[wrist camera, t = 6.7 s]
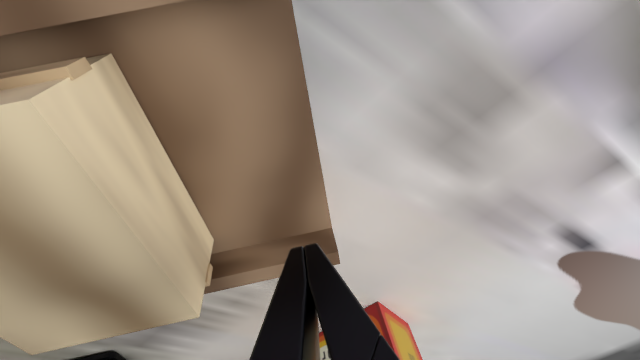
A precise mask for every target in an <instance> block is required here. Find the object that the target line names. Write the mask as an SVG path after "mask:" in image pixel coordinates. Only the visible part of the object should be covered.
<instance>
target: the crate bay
mask: <svg viewBox="0 0 640 360" xmlns="http://www.w3.org/2000/svg"><path fill="white" fill-rule="evenodd" d="M105 54H112V56H113V57H114V59H115V61H116V63H117V65H118V66H119V68H120V70H121V72H122V74H123V76H124V77H125V79H126V81H127V83H128V85H129V86H130V88H131V90H132V92H133V94H134V96H135V97H136V99H137V101H138V103H139V105H140V106H141V108H142V110H143V112H144V114H145V116H146V117H147V119H148V121H149V123H150V125H151V126H152V128H153V130H154V132H155V134H156V135H157V137H158V139H159V141H160V143H161V145H162V146H163V148H164V150H165V152H166V154H167V155H168V157H169V159H170V161H171V163H172V165H173V166H174V168H175V170H176V172H177V174H178V175H179V177H180V179H181V181H182V183H183V185H184V186H185V188H186V190H187V192H188V194H189V195H190V197H191V199H192V201H193V203H194V204H195V206H196V208H197V210H198V212H199V214H200V215H201V217H202V219H203V221H204V223H205V224H206V226H207V228H208V230H209V232H210V234H211V235H212V237H213V239H214V242H213V247H212V253H211V258H210V264H211V265H212V267H213V270H212V276H211V281H210V286H207V287H205V290H204V294H207V293H211V292H216V291H220V290H225V289H229V288H234V287H238V286H242V285H247V284H251V283H256V282H260V281H265V280H269V279H274V278H278V277H280V275H281V272H282V270H283V267H284V264H285V262H286V259H287V256H288V253H289V251H290V249H291V248H294V247H299V246H303V247H304V246H305V245H308V244H313V243H317V244H318V245H319V246H320V248H321V249H322V250H323V252H324V253H325V255H326V256H327V258H328V259H329V260H330V262H331V263H332V265H337V264H340V260H339V254H338V250H337V246H336V242H335V238H334V234H333V230H332V226H331V220H330V214H329V209H328V203H327V198H326V192H325V186H324V181H323V175H322V169H321V164H320V158H319V153H318V147H317V141H316V136H315V130H314V125H313V119H312V113H311V108H310V102H309V96H308V91H307V85H306V80H305V74H304V68H303V63H302V57H301V52H300V46H299V40H298V35H297V29H296V23H295V18H294V12H293V7H292V1H291V0H0V73H4V72H9V71H14V70H19V69H24V68H30V67H35V66H40V65H45V64H50V63H56V62H61V61H66V60H71V59H76V58H81V57H86V58H90V57H95V56H100V55H105Z"/></svg>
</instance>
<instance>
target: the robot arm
mask: <svg viewBox="0 0 640 360" xmlns="http://www.w3.org/2000/svg"><path fill="white" fill-rule="evenodd" d="M317 314H318V315H317ZM318 318H319V321H320V324H321V328H322V331H323V334H324V338H325V341H326V344H327V348H328V351H329V355H330V358H331V360H400V359H399V357H398V356H397V355H396V353H395V352H394V351H393V349H392V348H391V347H390V345H389V344H388V343H387V341H386V340H385V338H384V337H383V336H382V335H380V331H379V330H378V329H377V327H376V326H375V324H374V323H373V321H372V320H371V319H370V317H369V316H368V314H367V313H366V312H365V310H364V309H363V307H362V306H361V304H360V303H359V302H358V300H357V299H356V297H355V296H354V294H353V293H352V292H351V290H350V289H349V287H348V286H347V285H346V283H345V282H344V280H343V279H342V277H341V276H340V275H339V273H338V272H337V270H336V269H335V268H334V266H333V265H332V263H331V262H330V260H329V259H328V258H327V256H326V255H325V253H324V252H323V250H322V249H321V248H320V246H319V245H318V244H317V243H313V244H308V245H305V246H304V247H303V246H299V247H294V248H291V249H290V251H289V253H288V256H287V259H286V262H285V264H284V267H283V270H282V272H281V275H280V278H279V281H278V283H277V286H276V289H275V292H274V294H273V297H272V300H271V302H270V305H269V308H268V311H267V313H266V316H265V319H264V322H263V324H262V327H261V330H260V332H259V335H258V338H257V341H256V343H255V346H254V349H253V352H252V354H251V357H250V360H320V345H319V327H318ZM77 360H125V359H124V358H123V357H121V356H120V355H119V354H117V353H115V352H108V353H104V354H99V355H95V356H90V357H86V358H82V359H77Z"/></svg>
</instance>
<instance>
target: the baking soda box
mask: <svg viewBox="0 0 640 360" xmlns="http://www.w3.org/2000/svg"><path fill="white" fill-rule="evenodd" d="M364 310H365V312H366V313H367V314H368V316H369V317H370V319H371V320H372V321H373V323H374V324H375V326H376V327H377V329H378V330H379V331H380V335H382V336H383V337H384V338H385V340H386V341H387V343H388V344H389V345H390V347H391V348H392V349H393V351H394V352H395V353H396V355H397V356H398V357H399V359H400V360H422V357H421V355H420V352H419V350H418V347H417V345H416V342H415V340H414V337H413V335H412V332H411V330H410V327H409V325H408V323H406V322H405V321H404V320H402V319H401V318H400V317H398V316H397V315H395V314H394V313H393V312H391V311H390V310H389V309H387V308H386V307H385V306H383V305H382V304H381V303H379V302H376V303H374V304H372V305H370V306H368V307H367V308H365V309H364ZM319 345H320V360H331V358H330V355H329V351H328V348H327V344H326V341H325V338H324V334H323V331H322V332H320V333H319Z"/></svg>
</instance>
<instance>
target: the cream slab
mask: <svg viewBox="0 0 640 360" xmlns="http://www.w3.org/2000/svg"><path fill="white" fill-rule="evenodd" d="M213 242H214V239H213V237H212V235H211V234H210V232H209V230H208V228H207V226H206V224H205V223H204V221H203V219H202V217H201V215H200V214H199V212H198V210H197V208H196V206H195V204H194V203H193V201H192V199H191V197H190V195H189V194H188V192H187V190H186V188H185V186H184V185H183V183H182V181H181V179H180V177H179V175H178V174H177V172H176V170H175V168H174V166H173V165H172V163H171V161H170V159H169V157H168V155H167V154H166V152H165V150H164V148H163V146H162V145H161V143H160V141H159V139H158V137H157V135H156V134H155V132H154V130H153V128H152V126H151V125H150V123H149V121H148V119H147V117H146V116H145V114H144V112H143V110H142V108H141V106H140V105H139V103H138V101H137V99H136V97H135V96H134V94H133V92H132V90H131V88H130V86H129V85H128V83H127V81H126V79H125V77H124V76H123V74H122V72H121V70H120V68H119V66H118V65H117V63H116V61H115V59H114V57H113V56H112V54H105V55H100V56H95V57H90V58H86V57H81V58H76V59H71V60H66V61H61V62H56V63H50V64H45V65H40V66H35V67H30V68H24V69H19V70H14V71H9V72H4V73H0V337H1V338H2V339H4V340H6V341H8V342H9V343H11V344H13V345H14V346H16V347H18V348H20V349H21V350H23V351H25V352H27V353H28V354H30V355H34V354H39V353H43V352H48V351H52V350H56V349H61V348H65V347H70V346H74V345H79V344H83V343H87V342H92V341H96V340H101V339H105V338H110V337H114V336H118V335H123V334H127V333H132V332H136V331H141V330H145V329H149V328H154V327H158V326H163V325H167V324H172V323H176V322H180V321H185V320H189V319H194V318H198V317H200V311H201V306H202V301H203V295H204V290H205V287H207V286H210V281H211V276H212V270H213V267H212V265H211V264H210V258H211V253H212V247H213Z"/></svg>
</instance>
